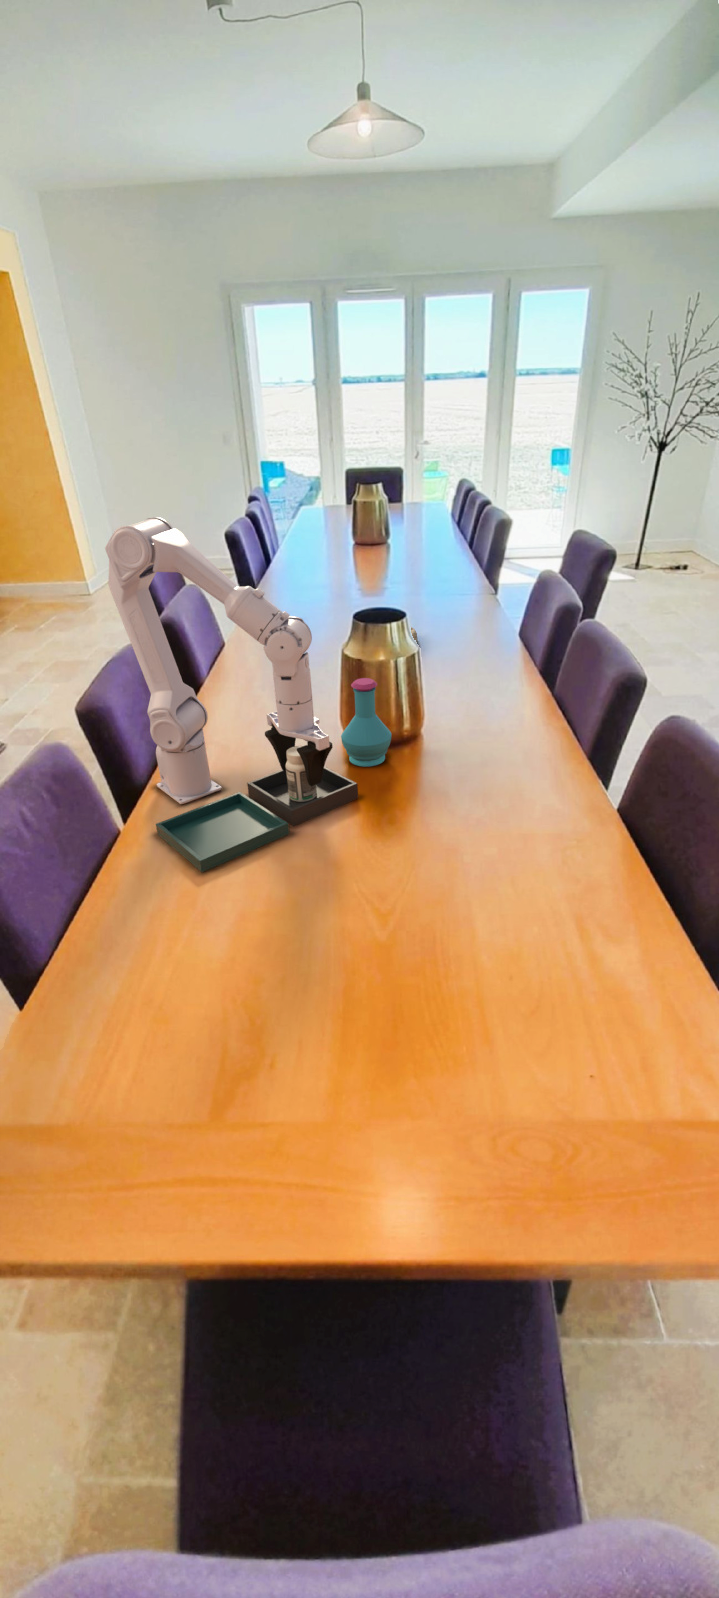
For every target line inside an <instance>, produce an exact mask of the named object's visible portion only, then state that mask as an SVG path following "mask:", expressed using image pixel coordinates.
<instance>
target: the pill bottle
mask: <svg viewBox="0 0 719 1598" xmlns="http://www.w3.org/2000/svg"><path fill="white" fill-rule="evenodd" d="M302 746H303V745H295V746H294V747H291V748H289V749H288V750H287V752H286V754H287V762H286V774H287V782H288V791H289V797H290V799H291V800H293V801H296V802H306V801H310V800H312V799H314V798H315V797H316V795H317V789H316V785H313V786H310V785H309V784H308V781H307V777H306V772H305V767H304V764H303V761H302V759H301V757H300V755H299V753H298V752H297V748H300V747H302Z"/></svg>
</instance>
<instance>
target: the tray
mask: <svg viewBox="0 0 719 1598" xmlns="http://www.w3.org/2000/svg"><path fill="white" fill-rule="evenodd" d="M289 827H290V826H289V823H288V822H286V821H285V820H283V819H282V818H280V817H278V816H277V815H275V814H274V813H272V812H271V811H269V810H268V809H266V808H265V807H263V806H262V805H260V804H259V803H257V802H255V801H254V800H252V799H251V798H249V796H248V795H246V794H245V793H242V792H241V791H237V792H235V793H233V794H230V795H227V796H225V797H222V798H220V799H217V800H214V801H212V802H209V803H207V804H204V805H201V806H199V807H195V808H193V809H190V810H189V811H185V812H183V813H181V814H178V815H176V816H173V817H171V818H168V819H165V820H163V821H160V822H157V823H155V828H156V832H157V836H158V837H160V838H161V839H162V840H163V841H165V842H166V843H167V845H169V846H170V847H172V848H173V849H174V850H175V851H176V852H177V853H178V854H179V855H181V856H182V857H183V858H184V859H185V860H187V861H188V862H189V863H190V864H191V865H193V866H194V867H195V868H196V869H197V870H198V871H199V872H201V873H204V872H206V871H209V870H211V869H214V868H215V867H218V866H220V865H222V864H224V863H227V862H229V861H232V860H234V859H236V858H238V857H240V856H243V855H245V854H247V853H250V852H252V851H254V850H257V849H259V848H261V847H264V846H266V845H267V844H270V843H272V842H274V841H277V840H280V839H282V838H284V837H287V836H289V835H290V829H289Z"/></svg>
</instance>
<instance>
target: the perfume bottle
mask: <svg viewBox="0 0 719 1598" xmlns="http://www.w3.org/2000/svg"><path fill="white" fill-rule="evenodd" d="M350 686H351V688H353V689H352V691H353V692H354V710H355V711H354V712H355V713H354V714H355V715H354V716H353V717H352V719H351V720H350V722H349V723H348V725H346V727H345V729H344V730H343V731H342V733H341V735H340V738H341V743H342V746H343V748H344V749H345V752H346V754H347V756H348V758H349V762H350V763H351V764H352V765H354V766H358V767H364V768H365V767H374V766H378V765H381V764H382V763H383V762H384V761H385V760H386V754H387V753H388V749H389V747H390V745H391V742H392V732H391V730H390V729H389V728H388V727H387V726H386V725H385V723H384V722H383V721H382V720H381V718H380V717H379V716H378V715H377V713H376V693H375V692H376V687H377V686H378V683H377V682H376V681H375V680H374V679H373V678H369V677H361V678H357V679H355V680H354V681H353V682H352V683H351V684H350Z"/></svg>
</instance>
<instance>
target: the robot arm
mask: <svg viewBox="0 0 719 1598" xmlns="http://www.w3.org/2000/svg"><path fill="white" fill-rule="evenodd" d="M104 549H105V552H106V555H107V557H108V581H107V582H108V587H109V591H110V594H111V596H112V598H113V601H114V604H115V606H116V608H117V609H116V610H117V611H118V614H119V616H120V619H121V621H122V624H123V626H124V629H125V631H126V635H127V637H128V639H129V642H130V645H131V647H132V649H133V652H134V654H135V655H134V656H135V657H136V660H137V662H138V665H139V667H140V670H141V673H142V675H143V678H144V680H145V682H146V683H145V684H146V685H147V687H148V690H149V693H150V698H149V702H148V707H147V711H146V712H147V715H148V718H149V724H150V726H149V734H150V737H151V739H152V741H153V743H155V745H156V749H155V757H156V762H157V767H158V772H159V777H160V782H158V783H156V787H157V788H158V789H160V790H161V791H162V792H163V793H165V794H166V795H168V796H169V797H170V798H172V799H173V800H174V801H175V802H177V803H178V804H179V805H185V804H187V803H189V802H193V801H195V800H197V799H200V798H203V797H205V796H209V795H211V794H214V793H216V792H219V791H221V790H222V789H223V788H222V786H221V785H220V784H218V783H217V782H215V781H214V780H212V777H211V770H210V765H209V758H208V752H207V745H206V740H205V734H204V728H205V726H206V725H207V723H208V719H209V715H208V711H207V708H206V707H205V705H204V704H203V703H202V701H201V700H199V699H198V697H197V695H196V692H195V690H194V688H193V687H191V686H189V685H188V684H186V683H185V682H183V679H182V676H181V674H180V670H179V667H178V665H177V662H176V659H175V656H174V654H173V651H172V649H171V646H170V643H169V640H168V638H167V635H166V632H165V630H164V626H163V624H162V621H161V618H160V616H159V613H158V611H157V608H156V605H155V602H154V600H153V597H152V594H151V592H150V589H149V588H150V585H151V583H152V581H153V580H154V578H155V576H156V574H157V573H179V574H181V575H182V576H183V577H185V578H186V579H187V580H189V581H190V582H192V583H193V584H194V585H196V586H197V587H199V588H200V589H201V590H202V591H204V592H205V593H207V594H209V595H210V596H212V597H213V598H214V599H216V600H217V601H218V602H220V603H221V604H223V606H224V610H225V614H226V617H227V618H228V619H229V620H230V621H231V622H233V623H234V624H235V625H237V626H238V627H239V628H240V629H242V630H243V631H244V632H245V633H247V634H248V635H249V636H250V637H252V638H253V639H254V640H255V641H256V642H258V643H259V644H260V645H263V651H264V654H265V656H266V658H267V659H268V660H269V661H270V662H271V665H272V677H273V679H272V680H273V687H274V696H275V697H274V698H275V705H276V711H273V712H269V713H266V721H267V722H266V723H267V726H269V727H270V729H268V730H266V731H264V737H265V738H266V739H267V741H269V743H270V745H271V747H272V748H273V750H274V753H275V755H276V758H277V761H278V763H279V766H280V768H281V770H283V771H286V762H287V754H286V752H287V750H288V749H289V748H291V747H294V746H296V742H297V741H296V740H297V739H299V740H303V741H304V742H306V744H305V745H301V746H302V747H300V748H297V752H298V753H299V755H300V757H301V759H302V761H303V764H304V767H305V772H306V777H307V781H308V784H309V785H310V786H313V785H316V784H318V783H321V780H322V774H323V769H324V766H325V765H326V763H327V762H326V761H327V759H328V757H329V755H330V753H331V751H332V749H333V748H334V747H333V742H331V741H330V735H329V734H326V733H325V732H324V731H323V729H321V727H320V726H319V724H320V718H318V717H316V716H315V715H314V703H313V701H314V700H313V689H312V677H311V668H310V662H309V661H310V659H309V652H307V651H308V649H309V648H310V646H311V644H312V640H313V636H312V631H311V629H310V627H309V625H308V624H307V623H306V622H305V621H304V619H303V618H301V617H299V616H295V615H290V614H289V612H288V611H286V610H284V611H282V610H281V609H280V608H278V607H277V606H276V605H274V604H273V603H272V602H271V601H269V600H268V599H267V598H266V597H265V592H264V591H263V590H262V589H261V588H260V587H257V588H253V587H252V586H250V585H245V586H239V585H237V584H236V583H235V582H234V581H233V580H232V579H231V578H229V577H228V576H227V575H226V574H225V573H224V572H223V571H222V570H220V569H219V568H218V567H217V566H216V565H215V564H214V563H213V562H212V561H211V560H209V559H208V557H207V556H205V555H204V554H203V553H202V552H201V551H200V550H198V549H197V548H196V547H195V546H194V545H193V544H192V543H190V541H189V540H188V538H187V537H186V535H185V534H184V533H183V532H182V531H181V530H179V529H177V528H175V527H173V525H172V524H171V523H169V522H168V521H167V520H165V519H164V518H162V517H160V516H159V517H158V516H150V517H147V518H145V519H144V520H141V521H139V522H135V523H132V524H128V525H121V526H119V527H118V528H116V529H115V530H114V532H113V533H112V534H111V536H110V538H109V539H108V542H107V543H106V545H105V547H104Z"/></svg>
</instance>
